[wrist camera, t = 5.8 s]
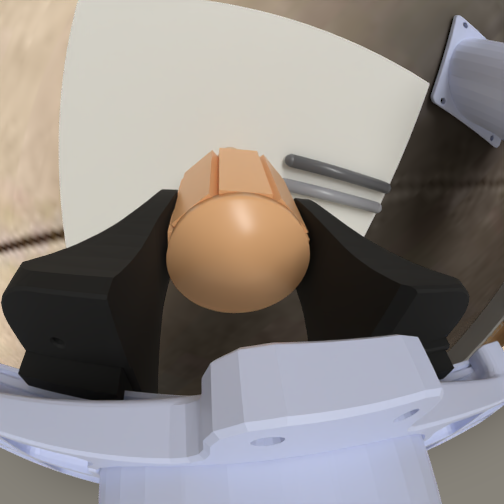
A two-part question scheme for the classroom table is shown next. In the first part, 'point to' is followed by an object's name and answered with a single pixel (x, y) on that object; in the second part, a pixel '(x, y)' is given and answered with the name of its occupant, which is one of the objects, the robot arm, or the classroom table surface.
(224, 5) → the plate
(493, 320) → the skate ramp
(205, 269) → the wire nut
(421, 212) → the classroom table surface
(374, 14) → the classroom table surface
